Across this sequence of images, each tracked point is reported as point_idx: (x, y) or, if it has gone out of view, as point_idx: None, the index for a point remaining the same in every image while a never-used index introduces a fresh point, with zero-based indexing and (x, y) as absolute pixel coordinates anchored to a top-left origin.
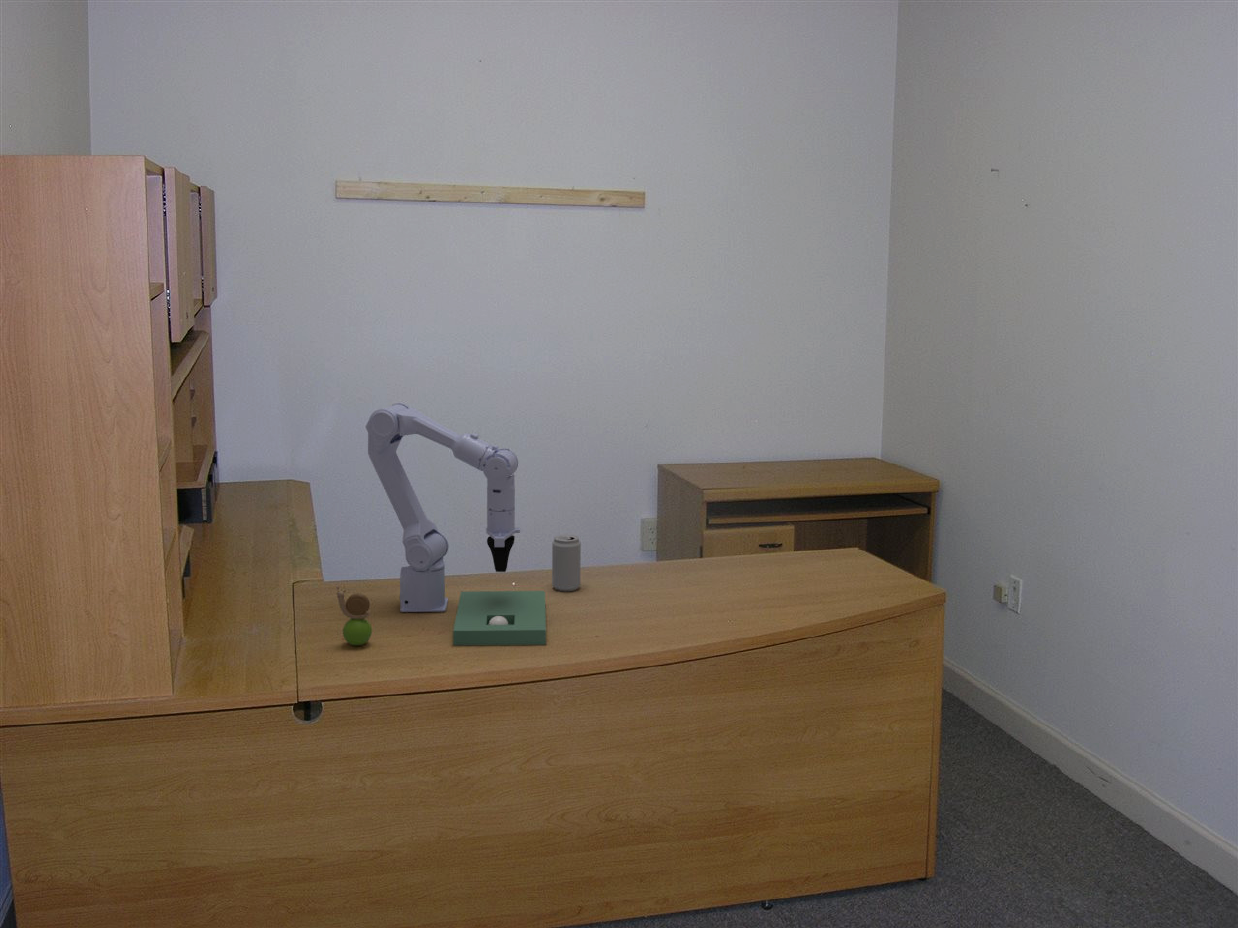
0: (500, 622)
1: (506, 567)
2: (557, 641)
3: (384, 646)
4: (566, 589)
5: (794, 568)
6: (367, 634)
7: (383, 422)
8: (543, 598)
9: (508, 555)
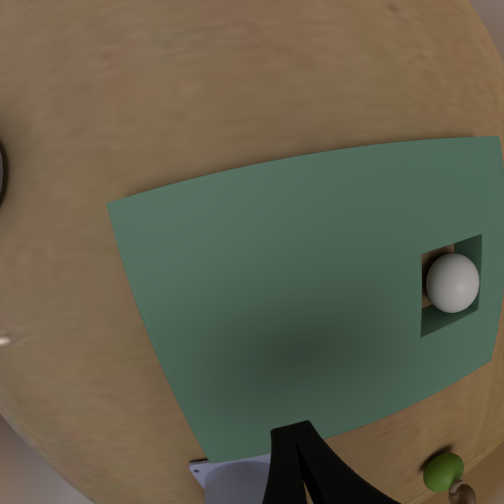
0: (478, 276)
1: (317, 434)
2: (450, 107)
3: (449, 431)
4: (2, 161)
5: None
6: (457, 457)
7: None
8: (210, 181)
9: (374, 487)
